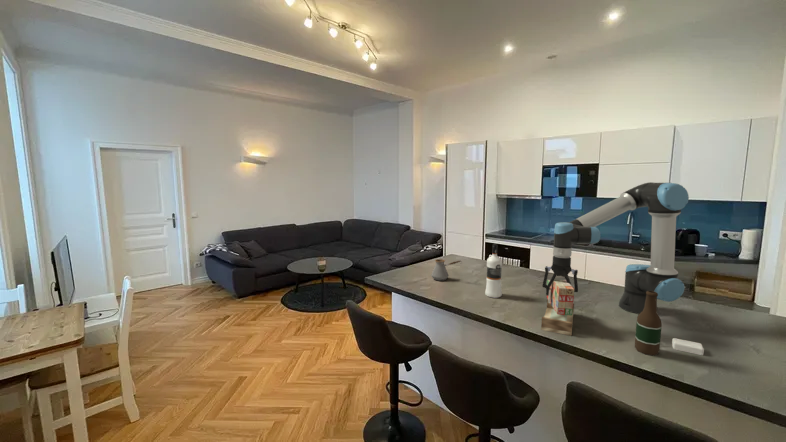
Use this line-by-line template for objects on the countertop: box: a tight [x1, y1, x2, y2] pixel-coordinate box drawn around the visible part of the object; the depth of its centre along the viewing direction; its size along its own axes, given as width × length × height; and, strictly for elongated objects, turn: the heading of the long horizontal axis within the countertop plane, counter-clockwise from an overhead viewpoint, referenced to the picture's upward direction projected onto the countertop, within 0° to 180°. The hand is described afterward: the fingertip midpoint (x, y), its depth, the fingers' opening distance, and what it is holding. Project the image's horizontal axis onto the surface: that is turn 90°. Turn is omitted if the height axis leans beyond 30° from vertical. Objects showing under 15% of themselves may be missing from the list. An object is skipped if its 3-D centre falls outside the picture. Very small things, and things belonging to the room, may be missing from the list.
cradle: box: [540, 299, 575, 337], centre depth 158 cm, size 12×26×6 cm, turn 150°
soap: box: [671, 337, 705, 356], centre depth 132 cm, size 9×6×3 cm, turn 55°
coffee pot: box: [430, 258, 463, 282], centre depth 222 cm, size 21×12×15 cm, turn 52°
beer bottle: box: [634, 291, 663, 356], centre depth 130 cm, size 8×8×24 cm
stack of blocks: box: [546, 279, 575, 315], centre depth 157 cm, size 21×6×12 cm, turn 168°
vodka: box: [484, 243, 503, 299], centre depth 192 cm, size 9×9×30 cm
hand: (558, 303), depth 158 cm, fingers closed on stack of blocks, 7 cm apart
